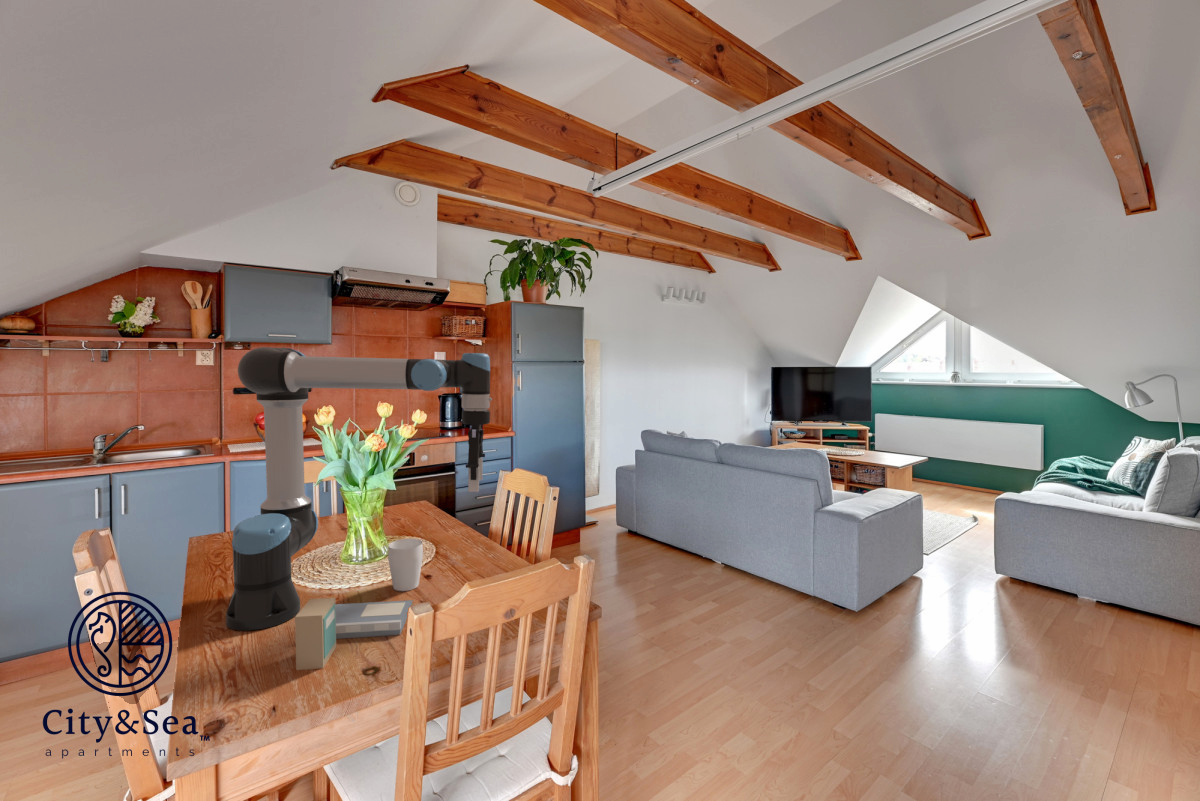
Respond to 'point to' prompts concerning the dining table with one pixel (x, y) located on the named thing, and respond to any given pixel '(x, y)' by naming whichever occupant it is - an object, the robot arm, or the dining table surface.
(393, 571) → the cup
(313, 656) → the tea box
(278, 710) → the dining table surface
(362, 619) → the grey flat rectangular block
